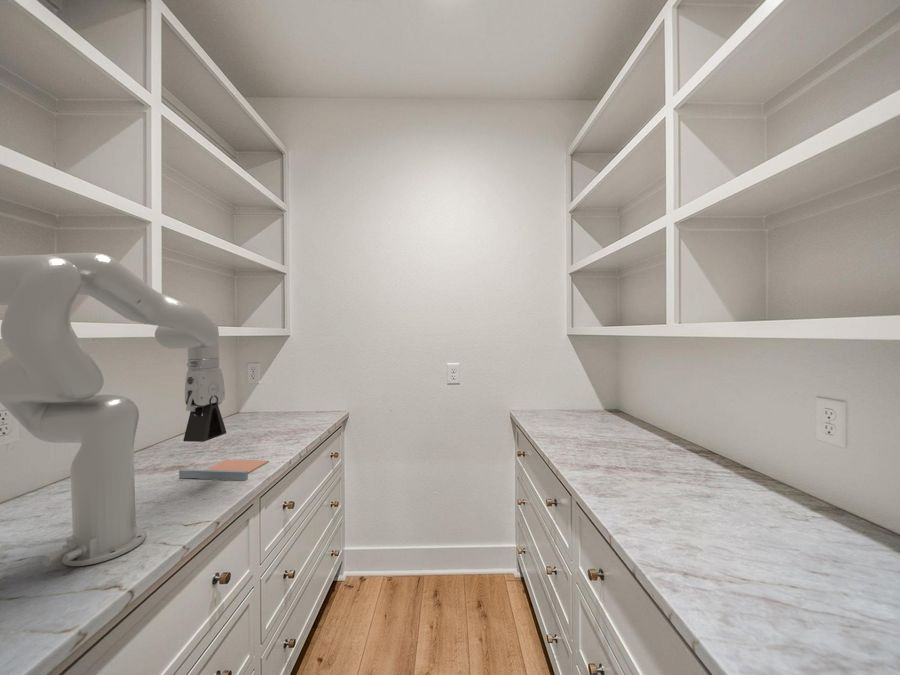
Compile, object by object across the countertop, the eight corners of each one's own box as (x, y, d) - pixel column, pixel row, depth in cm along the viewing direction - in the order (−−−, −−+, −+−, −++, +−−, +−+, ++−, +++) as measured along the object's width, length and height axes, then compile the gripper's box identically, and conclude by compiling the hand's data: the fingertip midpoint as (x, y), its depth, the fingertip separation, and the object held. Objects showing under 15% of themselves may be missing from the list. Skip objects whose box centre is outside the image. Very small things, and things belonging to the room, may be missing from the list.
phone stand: (202, 442, 102) (201, 398, 102) (183, 441, 103) (181, 398, 102) (226, 433, 111) (225, 393, 111) (208, 433, 112) (207, 393, 111)
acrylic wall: (245, 480, 111) (244, 472, 111) (179, 478, 114) (179, 470, 114) (247, 479, 112) (247, 471, 112) (182, 476, 115) (182, 468, 115)
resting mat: (243, 476, 114) (242, 475, 114) (196, 474, 116) (196, 473, 116) (268, 461, 127) (268, 460, 127) (226, 460, 129) (226, 459, 129)
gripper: (193, 367, 98) (195, 436, 98) (235, 362, 114) (236, 422, 114) (168, 367, 99) (170, 436, 99) (212, 362, 115) (214, 422, 115)
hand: (205, 428), depth 107 cm, fingers closed on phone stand, 1 cm apart
